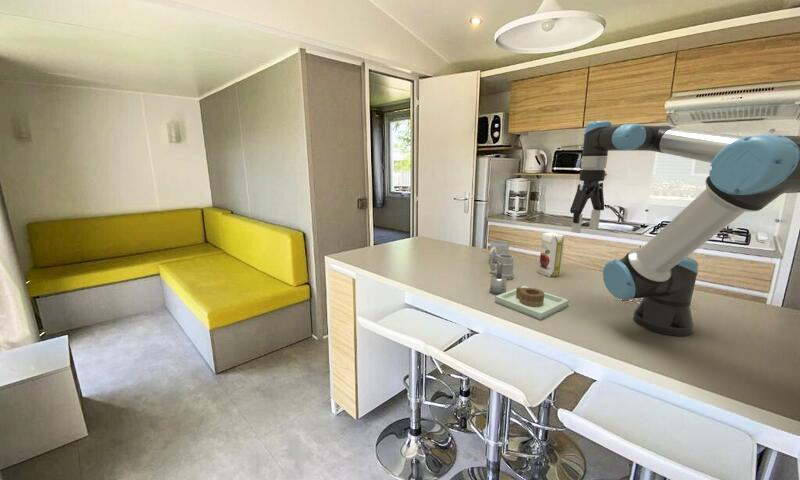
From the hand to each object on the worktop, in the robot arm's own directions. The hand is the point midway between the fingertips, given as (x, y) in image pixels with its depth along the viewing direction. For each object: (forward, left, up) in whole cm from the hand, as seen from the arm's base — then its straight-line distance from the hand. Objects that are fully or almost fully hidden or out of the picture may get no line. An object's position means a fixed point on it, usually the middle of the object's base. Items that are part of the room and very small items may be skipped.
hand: (585, 230), depth 121 cm
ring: (+8, +17, -26) cm, 32 cm away
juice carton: (+22, -20, -27) cm, 40 cm away
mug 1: (+49, -17, -27) cm, 58 cm away
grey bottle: (+23, +17, -27) cm, 39 cm away
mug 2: (+34, 0, -27) cm, 43 cm away
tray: (+8, +17, -27) cm, 33 cm away
